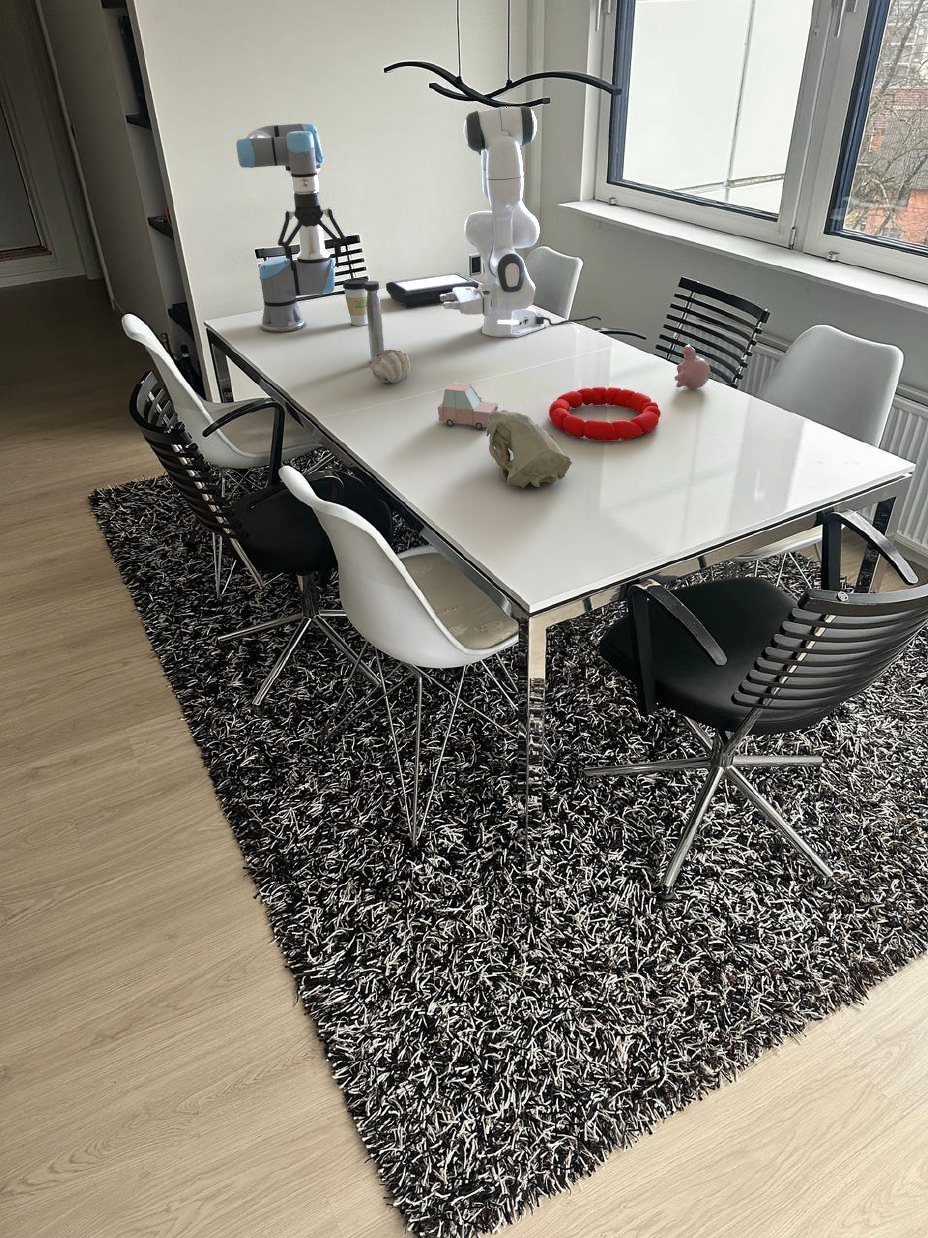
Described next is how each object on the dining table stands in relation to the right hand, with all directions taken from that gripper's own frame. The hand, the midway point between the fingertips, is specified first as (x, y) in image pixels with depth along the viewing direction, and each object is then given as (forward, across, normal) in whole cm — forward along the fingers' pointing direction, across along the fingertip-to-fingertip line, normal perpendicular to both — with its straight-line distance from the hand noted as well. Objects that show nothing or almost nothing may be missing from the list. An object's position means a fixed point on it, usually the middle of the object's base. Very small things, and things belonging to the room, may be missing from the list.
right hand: (442, 301), depth 285 cm
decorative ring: (-35, +66, +18) cm, 77 cm away
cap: (+22, +1, -7) cm, 23 cm away
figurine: (-67, +47, +18) cm, 84 cm away
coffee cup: (+26, -43, +17) cm, 53 cm away
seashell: (+19, +22, +18) cm, 34 cm away
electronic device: (-5, -70, +17) cm, 73 cm away
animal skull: (-7, +92, +18) cm, 94 cm away
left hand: (+39, +2, -13) cm, 41 cm away
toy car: (+1, +59, +18) cm, 62 cm away
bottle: (+22, +1, +17) cm, 28 cm away
